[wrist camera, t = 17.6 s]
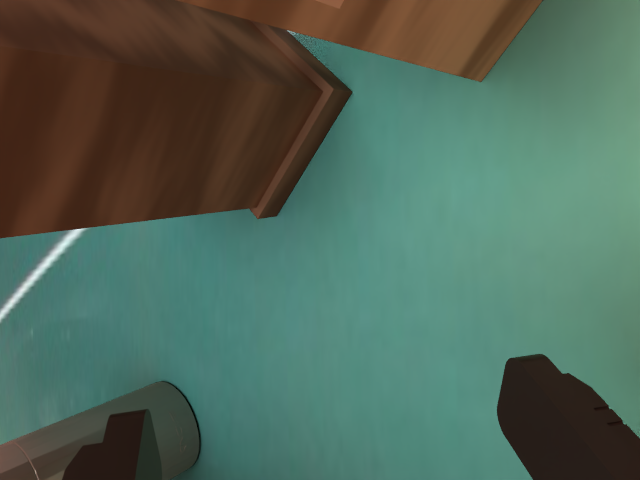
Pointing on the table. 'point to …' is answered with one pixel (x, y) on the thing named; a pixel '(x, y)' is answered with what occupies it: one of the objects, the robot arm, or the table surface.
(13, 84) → the tall walnut stand
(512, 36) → the light wooden pillar block
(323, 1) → the brown wooden block
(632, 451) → the robot arm
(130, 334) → the table surface
